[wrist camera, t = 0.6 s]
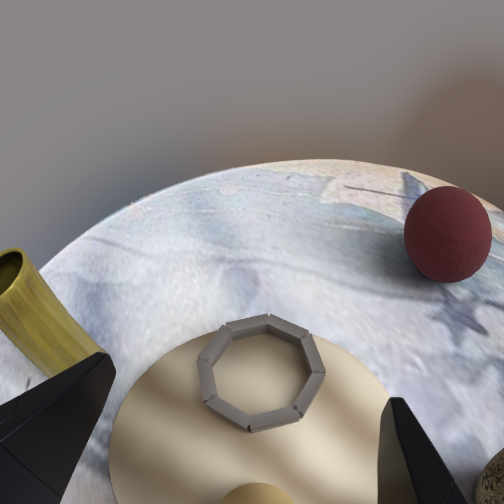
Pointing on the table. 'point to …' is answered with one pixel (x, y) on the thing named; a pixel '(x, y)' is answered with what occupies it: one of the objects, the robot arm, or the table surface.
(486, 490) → the cup
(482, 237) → the decorative ball
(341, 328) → the table surface
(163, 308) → the table surface
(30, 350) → the vase
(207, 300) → the table surface
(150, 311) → the table surface
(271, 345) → the disc
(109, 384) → the robot arm
